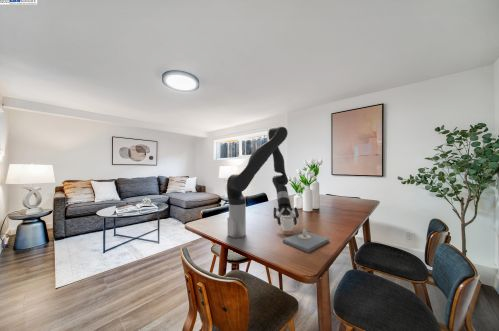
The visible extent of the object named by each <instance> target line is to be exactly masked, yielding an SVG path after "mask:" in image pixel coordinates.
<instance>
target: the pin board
mask: <svg viewBox="0 0 499 331" xmlns="http://www.w3.org/2000/svg"><path fill="white" fill-rule="evenodd" d="M329 242H330V239H329V238H328V237H324V236H322V235H318V234H315V233H312V232H309V231H308V230H307V229H306V228H303V229H302V231H301V232H298V233H295V234H292V235H291V236H288V237H285V238H282V243H283V244H286V245H288V246H290V247H293V248H295V249H297V250H301V251H303V252H306V253H310V252H312V251H314V250H316V249H318V248H319V247H321V246H323V245H326V244H327V243H329Z"/></svg>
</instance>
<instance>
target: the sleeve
mask: <svg viewBox="0 0 499 331" xmlns="http://www.w3.org/2000/svg"><path fill="white" fill-rule="evenodd" d="M293 226H294V221H293V218H292V217H290V216H287V217H285V216H283V217H282V216H281V231H282V235H294V229H293V228H294V227H293Z"/></svg>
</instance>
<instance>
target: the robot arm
mask: <svg viewBox="0 0 499 331" xmlns="http://www.w3.org/2000/svg"><path fill="white" fill-rule="evenodd" d="M288 132H289V131H288V129H287V128H286V127H284V126H273V127H271V128H269V130H268V141H266V142H265V143H263V144H261V145H260V146H258V147H257V148H256V149H255V150H253V152H251V155H250V156H249V158H248V162H247V165H245V168H244V169H243V170H242V171H241V172H240V173H239V174H238V173H237V174H235V173H234V174H231V175H229V176H228V178H227V180H226V190H227V193H226V194H227V200H228V217H227V236H229V237H231V238H233V239H237V238H238V239H239V238H243V237H245V236H246V235H247V234H246V233H247V226H246V224H247V223H246V222H247V220H246V218H247V217H246V216H247V215H246V214H247V213H246V210H247V208H246V207H247V206H246V202H247V201H246V197H245V196H244V195H243V192H244V191H245V190H246V189H247V188H248V187H249V186H250V184H251V182H252V181H253V179H254V178H255V176H256V174H257V173H258V172H259V171H260V170H261V168H262V167H263V165H265V163H266V162H267V161H268V160H269V158H270V157H271V155H272V159H273V160H272V161H273V171H274V172H275V173H278V174H275V175H274V176H272V180H271V181H272V184H273V186H274V188H275V190H276V200H277V207H278V208H276V207H273V212H272V213H273V218H274V219H276V222H277V225H278V226H282V220H281V218H282V216H283V217H285V216H287V217H291V218H292V220H293V226H297V224H298V221H297V219H299V217H300V214H299V211H298V207H297V206H296V207H292V204H291V201H290V196H289V191H288V188H287V186H286V185H288V183H289V179H288V175H287V173H286V167H285V159H284V156H283V154H282V152H281V151H280V150H281V149H280V148H279V147H280V146H281V144H283V143H284V142H285V140H286V139H287V137H288ZM277 212H279V213H278V215H277Z"/></svg>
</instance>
